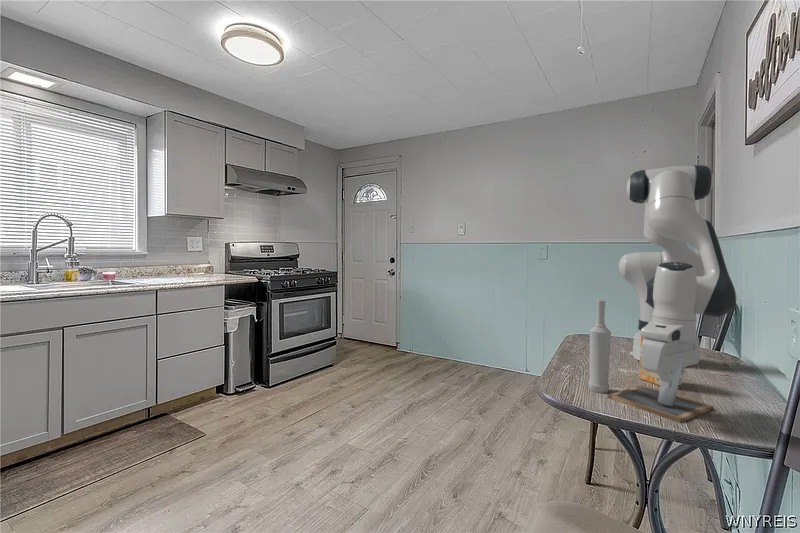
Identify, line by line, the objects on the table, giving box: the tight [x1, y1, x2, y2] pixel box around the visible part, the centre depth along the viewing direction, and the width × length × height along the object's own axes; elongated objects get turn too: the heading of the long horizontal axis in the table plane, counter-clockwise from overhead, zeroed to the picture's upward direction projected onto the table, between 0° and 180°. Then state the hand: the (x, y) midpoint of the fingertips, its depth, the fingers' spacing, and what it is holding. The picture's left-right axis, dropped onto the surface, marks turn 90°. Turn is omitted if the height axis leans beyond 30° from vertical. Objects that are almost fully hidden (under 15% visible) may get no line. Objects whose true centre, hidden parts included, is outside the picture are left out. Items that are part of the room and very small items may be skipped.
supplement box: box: [638, 337, 661, 387], centre depth 115 cm, size 8×5×13 cm, turn 18°
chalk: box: [657, 358, 684, 406], centre depth 95 cm, size 3×3×12 cm
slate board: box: [607, 384, 714, 423], centre depth 99 cm, size 16×17×1 cm
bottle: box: [587, 299, 612, 394], centre depth 107 cm, size 5×5×25 cm
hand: (671, 385), depth 94 cm, fingers closed on chalk, 3 cm apart
